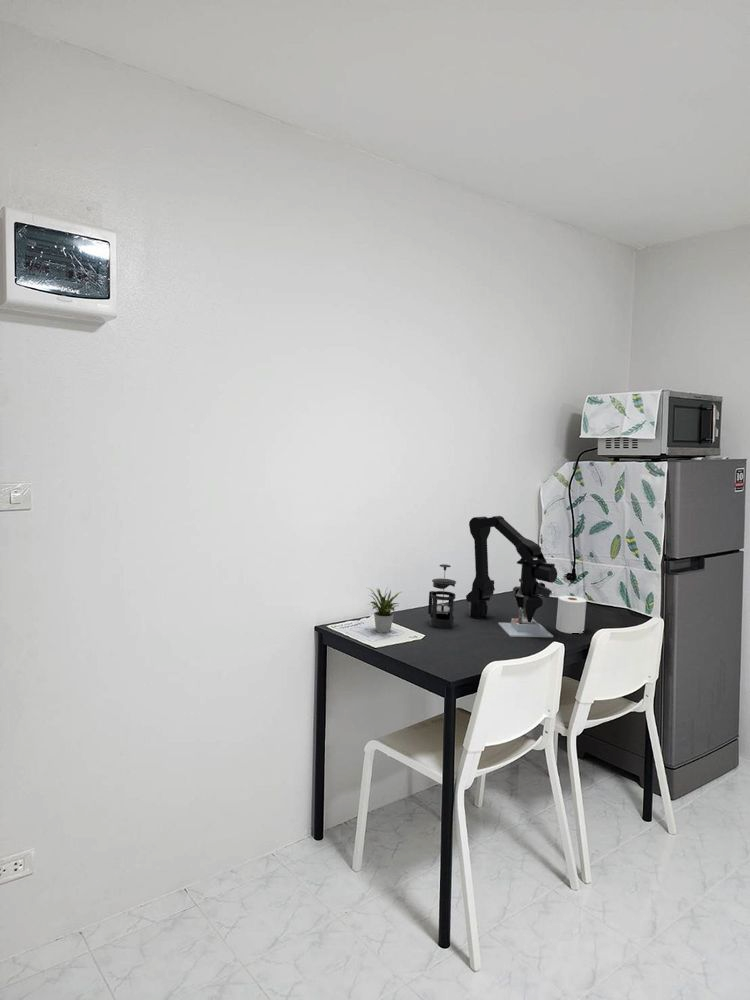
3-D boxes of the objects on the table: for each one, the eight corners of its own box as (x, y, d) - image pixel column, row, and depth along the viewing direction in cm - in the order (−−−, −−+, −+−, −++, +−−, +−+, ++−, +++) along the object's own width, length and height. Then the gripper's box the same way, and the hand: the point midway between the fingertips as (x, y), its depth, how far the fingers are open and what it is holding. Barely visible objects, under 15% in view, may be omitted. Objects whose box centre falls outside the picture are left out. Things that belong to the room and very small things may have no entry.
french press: (460, 626, 265) (464, 566, 262) (443, 630, 258) (447, 568, 256) (437, 619, 273) (440, 560, 271) (420, 623, 267) (423, 563, 264)
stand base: (509, 636, 255) (510, 625, 255) (498, 623, 271) (499, 613, 270) (553, 637, 256) (553, 626, 256) (539, 624, 272) (539, 614, 272)
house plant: (353, 632, 251) (355, 587, 249) (368, 622, 264) (370, 579, 262) (391, 638, 246) (393, 592, 244) (404, 628, 258) (406, 584, 257)
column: (519, 629, 261) (521, 609, 261) (516, 626, 265) (518, 607, 265) (532, 630, 262) (533, 610, 261) (528, 626, 266) (530, 607, 265)
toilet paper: (585, 635, 261) (588, 603, 260) (556, 632, 263) (559, 600, 262) (582, 627, 271) (585, 596, 270) (554, 625, 273) (557, 594, 272)
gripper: (558, 583, 253) (555, 626, 255) (541, 572, 272) (538, 612, 273) (528, 583, 252) (525, 625, 254) (513, 571, 271) (510, 611, 272)
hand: (525, 618), depth 263 cm, fingers open, 9 cm apart
